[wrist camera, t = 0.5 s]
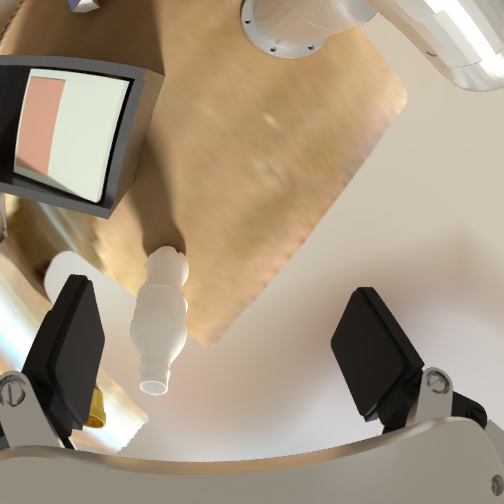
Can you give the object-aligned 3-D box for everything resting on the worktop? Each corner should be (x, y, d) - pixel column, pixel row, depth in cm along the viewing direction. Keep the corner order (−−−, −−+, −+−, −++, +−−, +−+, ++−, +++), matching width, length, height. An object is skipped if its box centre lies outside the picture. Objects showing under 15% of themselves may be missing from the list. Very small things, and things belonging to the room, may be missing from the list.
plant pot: (100, 382, 63) (94, 412, 55) (114, 401, 69) (111, 430, 60) (69, 381, 62) (62, 409, 54) (85, 400, 68) (80, 427, 59)
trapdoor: (36, 68, 21) (30, 68, 20) (129, 81, 23) (124, 80, 22) (18, 169, 27) (13, 171, 26) (100, 199, 28) (95, 202, 27)
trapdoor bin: (43, 58, 27) (-9, 55, 15) (165, 76, 33) (146, 68, 22) (23, 156, 34) (-26, 184, 22) (133, 181, 40) (108, 219, 29)
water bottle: (150, 277, 49) (129, 402, 28) (145, 241, 45) (112, 367, 24) (190, 276, 50) (190, 404, 29) (188, 240, 47) (183, 368, 26)
